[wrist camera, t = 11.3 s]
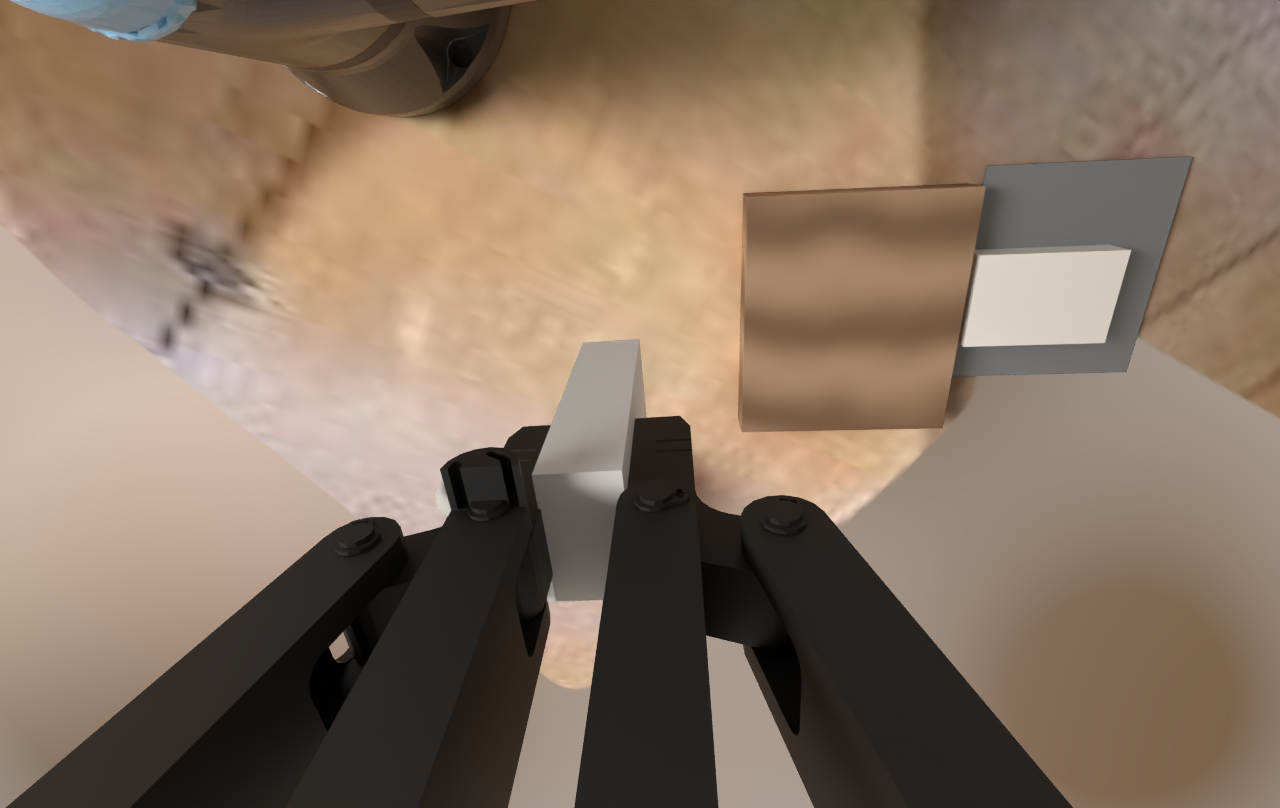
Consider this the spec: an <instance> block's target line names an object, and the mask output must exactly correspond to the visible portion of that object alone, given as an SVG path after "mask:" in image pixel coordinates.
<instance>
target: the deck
mask: <svg viewBox="0 0 1280 808" xmlns="http://www.w3.org/2000/svg"><path fill="white" fill-rule="evenodd" d="M985 189H986V186H980V185H973V184H946V185H923V186H900V187H878V188H855V189H833V190H810V191H788V192H765V193H743V234H742V276H741V319H740V361H739V403H738V419H739V423H740V427H741V431H742V432H774V431H822V430H871V429H920V428H943V423H944V417H945V412H946V406H947V401H948V395H949V390H950V384H951V379H952V373H953V367H954V362H955V356H956V351H957V345H958V340H959V334H960V328H961V323H962V317H963V312H964V306H965V301H966V295H967V289H968V284H969V278H970V273H971V267H972V262H973V256H974V250H975V245H976V239H977V234H978V228H979V223H980V217H981V211H982V206H983V200H984V195H985Z"/></svg>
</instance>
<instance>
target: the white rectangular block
mask: <svg viewBox="0 0 1280 808" xmlns="http://www.w3.org/2000/svg"><path fill="white" fill-rule="evenodd" d="M1130 253H1131V250H1129V249H1125V248H1121V247H1117V246H1113V245H1087V246H1060V247H1033V248H1005V249H978V250H974V256H973V262H972V267H971V273H970V278H969V284H968V289H967V295H966V301H965V306H964V312H963V317H962V323H961V328H960V334H959V340H958V343H959V344H960V345H961V346H963V347H978V346H1015V345H1052V344H1089V343H1105V340H1106V337H1107V333H1108V330H1109V326H1110V323H1111V319H1112V316H1113V312H1114V309H1115V305H1116V302H1117V298H1118V295H1119V291H1120V288H1121V284H1122V281H1123V277H1124V274H1125V270H1126V267H1127V263H1128V260H1129V256H1130Z"/></svg>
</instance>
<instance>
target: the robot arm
mask: <svg viewBox="0 0 1280 808" xmlns="http://www.w3.org/2000/svg"><path fill="white" fill-rule="evenodd" d="M11 1H12V2H14V3H16V4H19V5H21V6H23V7H26V8H28V9H31V10H33V11H36V12H39V13H42V14H45V15H48V16H51V17H55V18H59V19H62V20H66V21H69V22H72V23H76V24H79V25H82V26H86V27H87V28H89V29H91V30H92V31H94V32H97V33H101V34H104V35H106V36H107V37H109V38H112V39H116V40H130V41H134V42H149V41H158V42H164V43H169V44H175V45H180V46H185V47H191V48H196V49H202V50H207V51H212V52H218V53H223V54H229V55H234V56H239V57H245V58H250V59H256V60H261V61H266V62H272V63H277V64H282V65H284V66H285V67H286V68H287V69H289V70H290V71H291V72H292V73H293V74H294V75H295V76H296V77H297V78H299V79H300V80H301V81H302V82H303V83H305V84H306V85H307V86H308V87H310V88H311V89H313V90H314V91H316V92H317V93H319V94H320V95H322V96H324V97H326V98H327V99H329V100H331V101H333V102H336V103H338V104H340V105H342V106H345V107H347V108H350V109H353V110H356V111H359V112H363V113H368V114H374V115H382V116H394V117H411V116H419V115H425V114H429V113H432V112H435V111H438V110H441V109H443V108H445V107H447V106H449V105H451V104H453V103H454V102H456V101H458V100H459V99H460V98H462V97H463V96H464V95H466V94H467V93H468V92H469V91H470V90H471V89H472V88H473V87H474V86H475V85H476V84H477V83H478V82H479V81H480V80H481V78H482V77H483V76H484V75H485V73H486V72H487V70H488V69H489V67H490V66H491V64H492V62H493V61H494V59H495V57H496V55H497V53H498V51H499V48H500V46H501V43H502V41H503V38H504V34H505V31H506V27H507V23H508V19H509V13H510V6H511V5H512V4H518V3H523V2H529V1H535V0H11ZM440 471H441V474H442V478H443V482H444V486H445V490H446V493H447V497H448V501H449V505H450V508H451V512H450V513H449V515H448V517H447V519H446V521H445V522H444V524H443V526H442V527H439V528H436V529H433V530H429V531H425V532H421V533H417V534H413V535H409V536H405V537H403V533H402V530H401V527H400V526H399V524H398V523H397V522H396V521H395V520H393V519H389V518H386V517H370V518H363V519H359V520H356V521H352V522H350V523H349V524H347V525H344V526H342V527H340V528H338V529H336V530H335V531H333V532H332V533H330V534H329V535H328V536H326V537H325V538H323V539H322V540H321V541H320V542H319V543H318V544H316V545H315V546H314V547H313V548H312V549H310V550H309V551H308V552H307V553H306V554H304V555H303V556H302V557H301V558H300V559H299V560H297V561H296V562H295V563H294V564H293V565H292V566H290V567H289V568H288V569H287V570H286V571H284V572H283V573H282V574H281V575H280V576H278V577H277V578H276V579H275V580H274V581H273V582H271V583H270V584H269V585H268V586H267V587H266V588H264V589H263V590H262V591H261V592H260V593H259V594H257V595H256V596H255V597H254V598H253V599H252V600H250V601H249V602H248V603H247V604H246V605H244V606H243V607H242V608H241V609H240V610H238V611H237V612H236V613H235V614H234V615H233V616H231V617H230V618H229V619H228V620H227V621H225V622H224V623H223V624H222V625H221V626H220V627H218V628H217V629H216V630H215V631H214V632H212V633H211V634H210V635H209V636H208V637H207V638H205V639H204V640H203V641H202V642H201V643H200V644H198V645H197V646H196V647H195V648H194V649H192V650H191V651H190V652H189V653H188V654H187V655H185V656H184V657H183V658H182V659H181V660H180V661H179V662H177V663H176V664H175V665H174V666H172V667H171V668H170V669H169V670H168V671H166V673H164V674H163V675H162V676H161V677H160V678H158V679H157V680H156V681H155V682H153V683H152V684H151V685H150V686H149V687H148V688H146V689H145V690H144V691H143V692H142V693H141V694H139V695H138V696H137V697H136V698H135V699H133V700H132V701H131V702H130V703H129V704H127V705H126V706H125V707H124V708H123V709H122V710H120V711H119V712H118V713H117V714H116V715H114V716H113V717H112V718H111V719H110V720H109V721H108V722H106V723H105V724H104V725H103V726H102V727H100V728H99V729H98V730H97V731H96V732H94V733H93V734H92V735H91V736H90V737H89V738H87V739H86V740H85V741H84V742H83V743H82V744H80V745H79V746H78V747H77V748H76V749H74V750H73V751H72V752H71V753H70V754H68V755H67V756H66V757H65V758H64V759H63V760H61V761H60V762H59V763H58V764H57V765H56V766H54V767H53V768H52V769H51V770H50V771H48V772H47V773H46V774H45V775H44V776H43V777H41V778H40V779H39V780H38V781H37V782H36V783H34V784H33V785H32V786H31V787H30V788H28V789H27V790H26V791H25V792H24V793H22V795H20V796H19V797H18V798H17V799H15V800H14V801H13V802H12V803H11V804H10V805H8V806H7V807H6V808H508V804H509V800H510V795H511V791H512V787H513V783H514V778H515V774H516V770H517V765H518V761H519V757H520V752H521V748H522V744H523V739H524V735H525V731H526V726H527V722H528V718H529V713H530V709H531V705H532V701H533V696H534V692H535V687H536V683H537V679H538V675H539V670H540V666H541V662H542V657H543V653H544V649H545V644H546V640H547V636H548V631H549V627H550V611H549V606H548V601H547V596H548V592H549V588H550V584H551V580H552V584H553V589H554V595H555V600H556V601H582V600H603V606H602V613H601V620H600V627H599V635H598V642H597V649H596V656H595V663H594V671H593V678H592V685H591V693H590V700H589V707H588V714H587V721H586V728H585V736H584V743H583V750H582V757H581V764H580V772H579V779H578V786H577V793H576V801H575V807H574V808H718V797H717V784H716V769H715V755H714V741H713V728H712V713H711V701H710V685H709V672H708V658H707V644H706V635H707V636H711V637H715V638H719V639H723V640H727V641H731V642H735V643H740V644H743V647H744V652H745V656H746V658H747V660H748V662H749V665H750V667H751V669H752V671H753V673H754V676H755V678H756V680H757V682H758V684H759V687H760V689H761V691H762V693H763V695H764V698H765V700H766V702H767V704H768V707H769V709H770V711H771V713H772V715H773V718H774V720H775V722H776V724H777V726H778V728H779V731H780V733H781V735H782V737H783V740H784V742H785V744H786V746H787V748H788V751H789V753H790V755H791V757H792V760H793V762H794V764H795V766H796V768H797V771H798V773H799V775H800V777H801V779H802V782H803V784H804V786H805V788H806V790H807V793H808V795H809V797H810V799H811V802H812V804H813V806H814V808H1073V807H1072V806H1071V805H1070V804H1069V802H1068V801H1067V800H1066V799H1065V798H1064V796H1063V795H1062V794H1061V793H1060V792H1059V791H1058V789H1057V788H1056V787H1055V786H1054V785H1053V783H1052V782H1051V781H1050V780H1049V779H1048V777H1047V776H1046V775H1045V774H1044V773H1043V771H1042V770H1041V769H1040V768H1039V767H1038V766H1037V764H1036V763H1035V762H1034V761H1033V760H1032V758H1031V757H1030V756H1029V755H1028V754H1027V753H1026V751H1025V750H1024V749H1023V748H1022V746H1021V745H1020V744H1019V743H1018V742H1017V741H1016V739H1015V738H1014V737H1013V736H1012V735H1011V734H1010V732H1009V731H1008V730H1007V729H1006V727H1005V726H1004V725H1003V724H1002V723H1001V721H1000V720H999V719H998V718H997V717H996V716H995V714H994V713H993V712H992V711H991V710H990V708H989V707H988V706H987V705H986V704H985V702H984V701H983V700H982V699H981V698H980V697H979V695H978V694H977V693H976V692H975V691H974V689H973V688H972V687H971V686H970V685H969V683H968V682H967V681H966V680H965V679H964V677H963V676H962V675H961V674H960V673H959V672H958V670H957V669H956V668H955V667H954V666H953V664H952V663H951V662H950V661H949V660H948V658H947V657H946V656H945V655H944V654H943V652H942V651H941V650H940V649H939V648H938V647H937V645H936V644H935V643H934V642H933V641H932V639H931V638H930V637H929V636H928V635H927V633H926V632H925V631H924V630H923V629H922V628H921V626H920V625H919V624H918V623H917V621H915V619H914V618H913V617H912V616H911V614H910V613H909V612H908V611H907V610H906V608H905V607H904V606H903V605H902V604H901V602H900V601H899V600H898V599H897V598H896V597H895V595H894V594H893V593H892V592H891V591H890V589H889V588H888V587H887V586H886V585H885V583H884V582H883V581H882V580H881V579H880V577H879V576H878V575H877V574H876V573H875V571H874V570H873V569H872V568H871V567H870V566H869V565H868V563H867V562H866V561H865V560H864V558H863V557H862V556H861V555H860V554H859V552H858V551H857V550H856V549H855V548H854V546H853V545H852V544H851V543H850V542H849V541H848V539H847V538H846V537H845V536H844V535H843V533H842V532H841V531H840V530H839V529H838V527H837V526H836V525H835V524H834V523H833V521H832V520H831V519H830V518H829V517H828V516H827V514H826V513H825V512H824V511H823V510H822V509H820V508H819V507H818V506H817V505H815V504H814V503H812V502H809V501H807V500H804V499H802V498H799V497H792V496H785V495H779V496H767V497H764V498H761V499H758V500H755V501H753V502H752V503H750V504H749V505H748V506H746V507H745V508H744V510H743V512H742V514H741V516H740V515H734V514H728V513H724V512H720V511H717V510H715V509H713V508H710V507H708V506H707V505H706V504H704V503H703V502H702V501H701V500H700V499H699V498H698V496H697V494H696V491H695V484H694V471H693V457H692V444H691V431H690V425H689V424H688V423H687V422H686V421H685V420H684V419H683V418H682V417H681V416H669V417H652V418H646V407H645V396H644V385H643V374H642V363H641V353H640V342H639V339H632V340H617V341H603V342H588V343H583V344H582V347H581V349H580V352H579V354H578V357H577V359H576V362H575V365H574V367H573V370H572V372H571V375H570V378H569V380H568V383H567V385H566V388H565V390H564V393H563V396H562V398H561V401H560V403H559V406H558V408H557V411H556V414H555V416H554V419H553V421H552V424H551V425H545V426H528V427H522V428H521V429H520V430H518V431H517V432H516V433H515V434H513V435H512V436H511V437H510V438H508V440H507V442H506V444H505V446H504V448H494V447H489V448H482V449H475V450H472V451H469V452H466V453H463V454H460V455H458V456H457V457H455V458H453V459H451V460H449V461H448V462H447V463H446V464H445V465H444V466H443V467H442V468H441V469H440ZM342 632H343V633H344V635H345V638H346V640H347V643H348V645H349V648H348V650H347V651H346V652H345V653H344V654H343V655H342V656H341V657H339V658H338V659H337V660H335V659H334V658H333V656H332V654H331V652H330V649H329V646H330V645H331V644H332V643H333V642H334V641H335V640H336V639H337V638H338V637H339V635H340V634H341V633H342Z"/></svg>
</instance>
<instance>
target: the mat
mask: <svg viewBox="0 0 1280 808" xmlns="http://www.w3.org/2000/svg"><path fill="white" fill-rule="evenodd" d="M1191 160H1192V157H1167V158H1145V159H1123V160H1102V161H1080V162H1058V163H1036V164H1014V165H993V166H986V169H985V175H984V180H983V186H986V189H985V195H984V200H983V206H982V211H981V217H980V223H979V228H978V234H977V239H976V245H975V250H978V249H1005V248H1033V247H1060V246H1087V245H1113V246H1117V247H1121V248H1125V249H1129V250H1131V253H1130V256H1129V260H1128V263H1127V267H1126V270H1125V274H1124V277H1123V281H1122V284H1121V288H1120V291H1119V295H1118V298H1117V302H1116V305H1115V309H1114V312H1113V316H1112V319H1111V323H1110V326H1109V330H1108V333H1107V337H1106V340H1105V343H1089V344H1052V345H1015V346H978V347H963V346H961V345H960V344H959V343H958V345H957V351H956V356H955V362H954V367H953V373H952V376H986V375H987V376H988V375H1026V374H1027V375H1028V374H1065V373H1106V372H1127V368H1128V365H1129V362H1130V359H1131V355H1132V352H1133V349H1134V345H1135V342H1136V339H1137V336H1138V332H1139V329H1140V326H1141V323H1142V319H1143V316H1144V313H1145V310H1146V306H1147V303H1148V300H1149V297H1150V293H1151V290H1152V287H1153V283H1154V280H1155V277H1156V274H1157V270H1158V267H1159V264H1160V261H1161V257H1162V254H1163V251H1164V248H1165V244H1166V241H1167V238H1168V235H1169V231H1170V228H1171V225H1172V222H1173V218H1174V215H1175V212H1176V208H1177V205H1178V202H1179V199H1180V195H1181V192H1182V189H1183V186H1184V182H1185V179H1186V176H1187V173H1188V169H1189V166H1190V163H1191Z"/></svg>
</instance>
